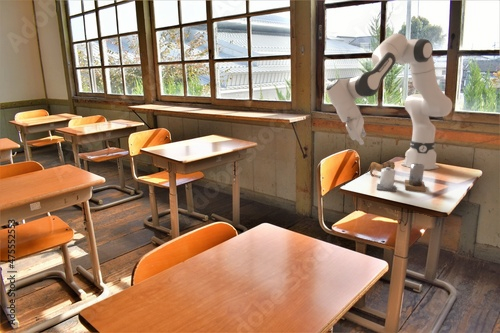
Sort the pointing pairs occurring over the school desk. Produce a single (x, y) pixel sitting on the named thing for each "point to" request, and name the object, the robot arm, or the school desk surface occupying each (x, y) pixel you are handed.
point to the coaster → (386, 189)
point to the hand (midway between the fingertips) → (363, 140)
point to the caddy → (414, 187)
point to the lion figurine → (380, 166)
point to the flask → (416, 174)
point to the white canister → (387, 178)
